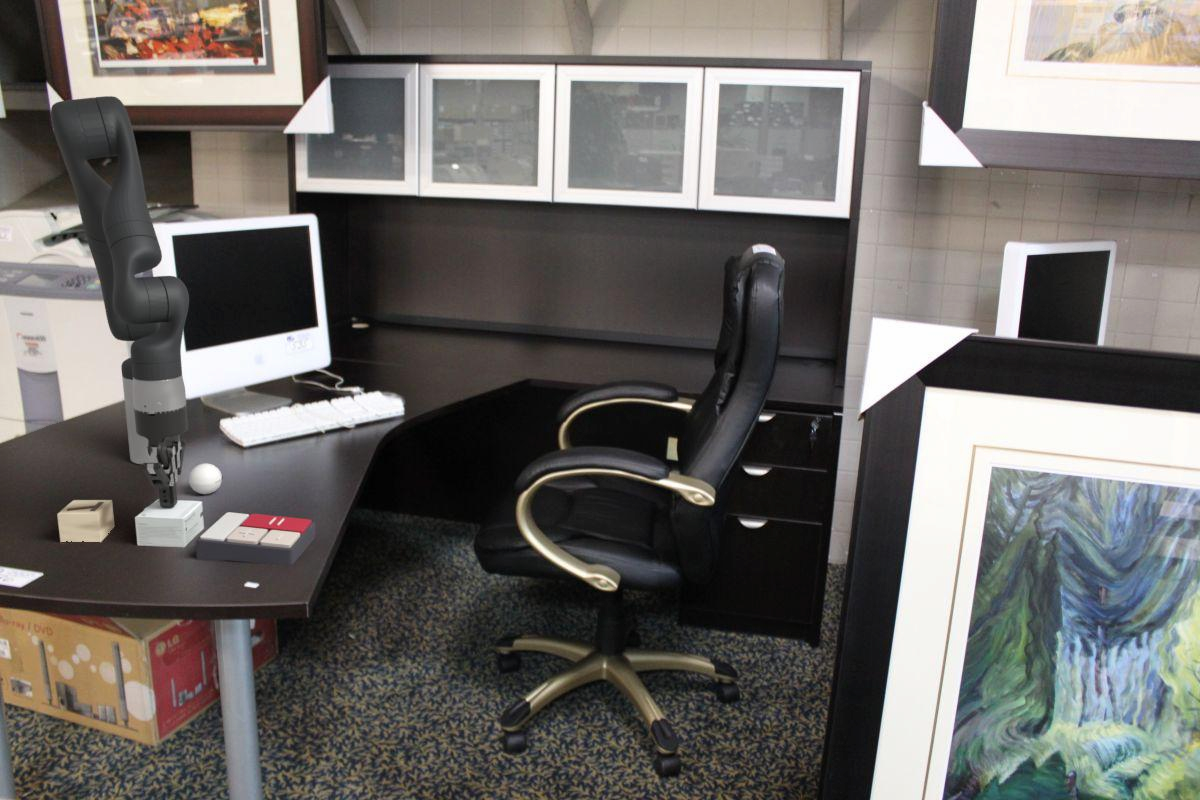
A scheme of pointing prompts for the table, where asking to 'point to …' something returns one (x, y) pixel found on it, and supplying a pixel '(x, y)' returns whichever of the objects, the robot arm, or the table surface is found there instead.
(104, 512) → the numbered block
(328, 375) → the table surface
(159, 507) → the small box
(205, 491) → the white ball
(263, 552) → the calculator
